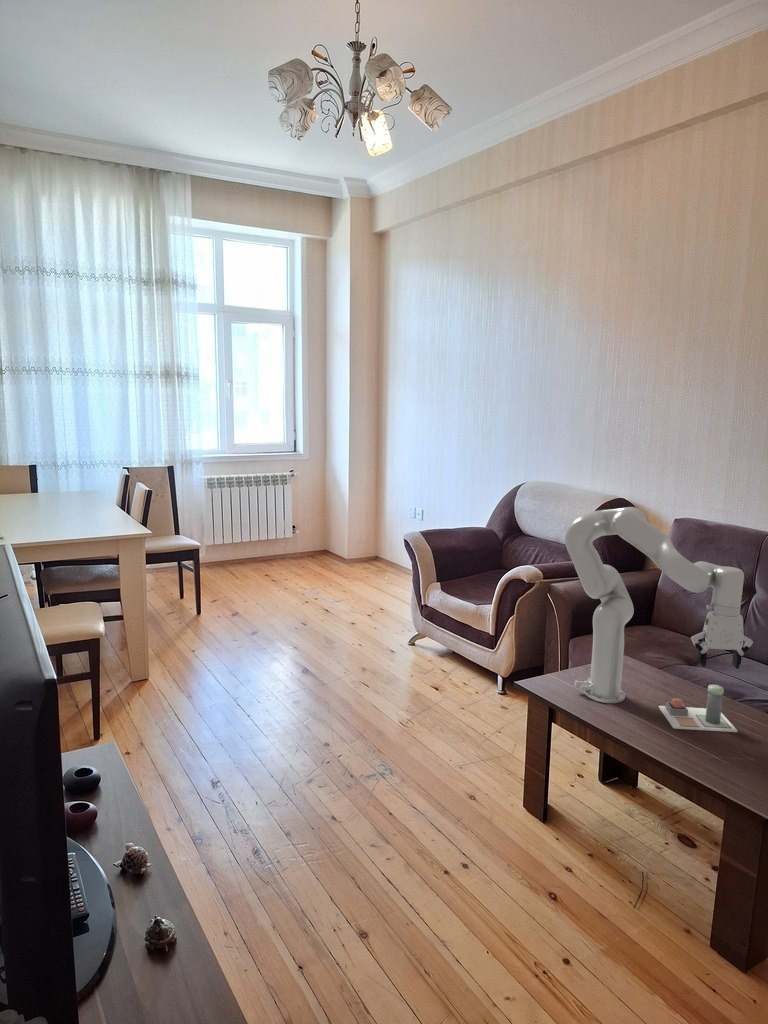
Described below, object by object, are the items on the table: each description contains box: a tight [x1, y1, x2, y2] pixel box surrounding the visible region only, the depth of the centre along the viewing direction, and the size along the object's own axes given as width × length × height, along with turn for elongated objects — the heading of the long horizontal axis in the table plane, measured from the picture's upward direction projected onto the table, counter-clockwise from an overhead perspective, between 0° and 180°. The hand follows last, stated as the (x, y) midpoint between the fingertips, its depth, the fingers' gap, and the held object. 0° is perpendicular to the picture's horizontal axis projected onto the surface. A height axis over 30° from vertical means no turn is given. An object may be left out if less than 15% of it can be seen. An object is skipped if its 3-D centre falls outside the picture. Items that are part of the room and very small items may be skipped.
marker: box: [705, 684, 725, 724], centre depth 202 cm, size 4×4×11 cm
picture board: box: [658, 701, 738, 733], centre depth 205 cm, size 18×14×2 cm
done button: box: [670, 697, 684, 709], centre depth 208 cm, size 3×3×2 cm
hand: (718, 665), depth 200 cm, fingers open, 9 cm apart
